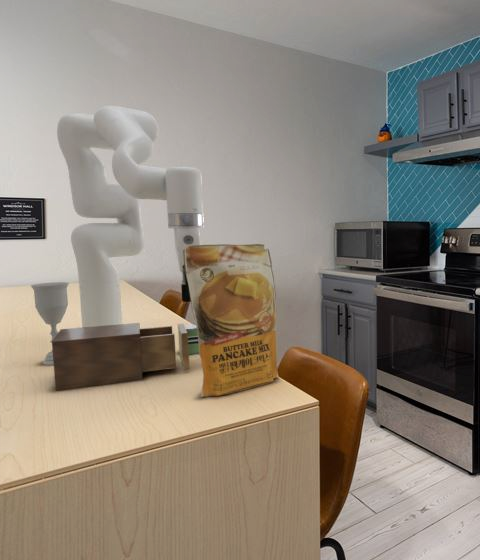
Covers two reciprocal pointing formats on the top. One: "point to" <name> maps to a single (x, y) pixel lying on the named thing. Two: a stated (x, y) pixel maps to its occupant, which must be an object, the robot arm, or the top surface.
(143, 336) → the drawer
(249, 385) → the pancake mix bag
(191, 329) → the can
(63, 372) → the cabinet
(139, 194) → the robot arm
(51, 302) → the chalice
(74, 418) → the top surface
